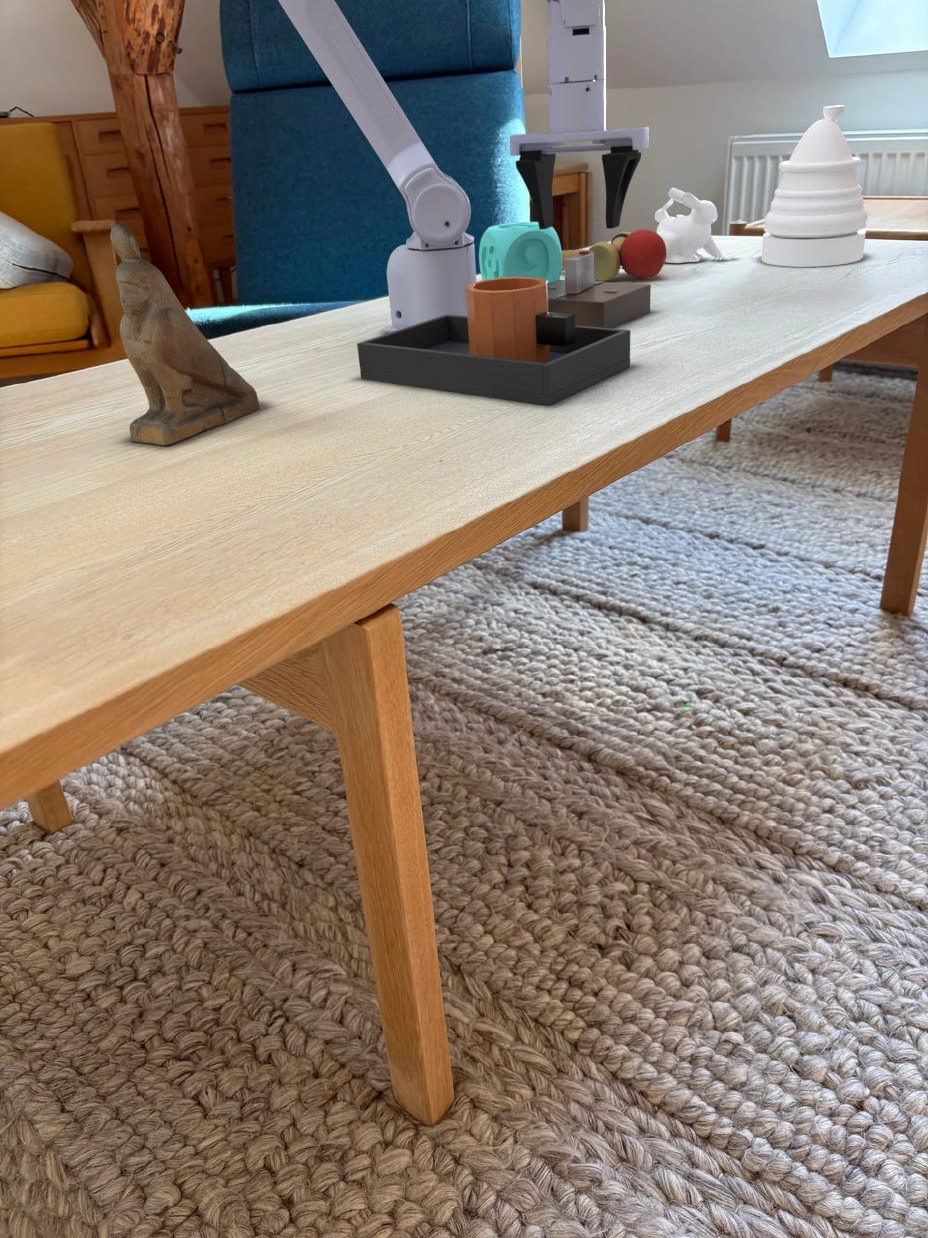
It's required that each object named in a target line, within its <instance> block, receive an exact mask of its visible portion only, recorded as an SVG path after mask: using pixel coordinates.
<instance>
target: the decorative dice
mask: <svg viewBox="0 0 928 1238" xmlns="http://www.w3.org/2000/svg"><path fill="white" fill-rule="evenodd" d="M562 251H563V250H562V246H561V241H560V238H559V235H558V233H557V232H556V230H555V228H554V227H553V226H552V227H550V228H547V229H539V224H538V221H521V222H509V223H501V224H496V225H491V226H489V227H488V228H487V229H486V230H485V231H484V233H483V234H482V235H481V239H480V242H479V248H478V263H479V264H478V265H479V271H480V277H481V280H487V279H494V278H502V277H537V278H541V279H544V280H547V283H550V282H553V281H556V280H561V278H562V277H561V276H562V273H563V271H562Z"/></svg>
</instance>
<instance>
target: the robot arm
mask: <svg viewBox="0 0 928 1238" xmlns="http://www.w3.org/2000/svg"><path fill="white" fill-rule="evenodd" d="M545 2H546V3H547V22H548V23H547V26H548V27H547V28H548V29H547V31H546V53H547V58H546V59H547V84H548V85H547V92H548V93H547V95H548V97H547V99H548V129H549V130H548V131H549V132H535V133H534V132H533V133H520V134H512V135H509V154H510V157H515V156H517V157H518V156H519V159H518V160H515V168H516V170H517V172H518V173H519V175H520V177H521V179H522V180H523V183H524V185H525V187H526V189H527V191H528V194H529V196H530V199H531V202H532V205H533V208H534V212H535V216H536V219H537V222H538V224H539V229H547V228H550V227H553V225H554V205H553V204H554V203H553V183H554V171H555V166H556V165H555V164H556V157H557V156H556V155H557V154H567V153H568V154H569V153H585V152H589V153H590V152H607V151H610V152H608V153H603V154H601V163H602V168H603V176H604V185H605V227H606V229H607V230H611V229H615V228H618V227H620V224H621V218H622V211H623V208H624V203H625V200H626V196H627V192H628V190H629V187H630V184H631V182H632V179H633V176H634V174H635V171H636V169H637V168H638V165H639V163H640V161H641V158H642V152H641V151H642V150H645V149H649V147H650V145H649V143H650V142H649V137H650V127H649V126H640V127H617V128H615V127H614V128H606V126H607V125H606V124H607V123H606V119H607V116H606V115H607V114H606V112H607V111H606V110H607V105H606V104H607V97H606V94H607V93H606V91H607V87H606V85H607V83H606V79H607V78H606V74H607V73H606V72H607V71H606V69H607V66H606V63H607V62H606V61H607V59H606V55H607V53H606V50H607V49H606V42H607V41H606V39H607V38H606V25H605V12H606V11H605V0H545ZM278 3H279V4H280V6H281V7H282V9H283V10H284V12H285V14H286V15H287V17H288V19H289V20H290V22H291V23H292V25H293V27H294V28H295V30H296V31H297V32H298V34H299V35H300V37H301V38H302V40H303V41H304V43H305V44H306V46H307V48H308V50H309V51H310V52H311V54H312V56H313V57H314V59H315V61H316V62H317V63H318V65H319V66H320V69H322V71H323V73H324V74H325V76H326V77H327V79H328V80H329V82H330V83H331V85H332V86H333V88H334V89H335V92H336V93H337V94H338V96H339V98H340V99H341V101H342V102H343V104H344V105H345V107H346V109H348V112H349V113H350V114H351V116H352V118H353V119H354V121H355V122H356V124H357V126H358V127H359V128H360V130H361V132H362V133H363V135H364V137H365V139H367V141H368V142H369V144H370V145H371V147H372V149H373V150H374V151H375V154H376V155H377V156H378V158H379V159H380V161H381V163H382V164H383V166H384V167H385V169H386V170H387V172H388V174H389V176H391V179H392V181H393V182H394V184H395V186H396V188H397V189H398V191H399V192H400V195H402V197H403V199H404V200H405V203H406V211H407V214H408V220H409V224H410V226H411V228H412V230H413V232H412V234H411V235H410V237H409V238H407V239H406V241H405V244H401V245H399V246H398V247H396V248H395V249H393V251H392V252H391V254H390V256H389V259H388V262H387V267H386V280H387V291H388V299H389V300H388V301H389V309H390V310H389V311H390V320H391V326H390V327H387V328H386V329H387V333H391V332H394V331H397V330H400V329H403V328H406V327H409V326H413V325H416V324H419V323H422V322H425V321H428V320H431V319H434V318H437V317H440V316H443V315H458V316H467V301H466V287H467V286H468V284H471V283H474V282H477V281H478V280H477V267H476V250H475V236H474V235H471V234H469V233H466V231H467V229H468V227H469V224H470V221H471V218H472V217H471V215H472V209H471V203H470V200H469V197H468V195H467V193H466V191H465V190H464V189H463V188H462V186H460V185H459V184H458V183H457V181H456V180H455V179H454V178H453V177H451V176H450V175H448V174H446V173H444V172H443V171H442V170H440V168H439V166H438V165H437V163H436V162H435V160H434V158H433V157H432V155H431V154H430V152H429V150H428V149H427V148H426V146H425V144H424V143H423V141H422V139H421V138H420V137H419V135H418V133H417V132H416V130H415V128H414V127H413V125H412V124H411V122H410V120H409V119H408V117H407V115H406V114H405V112H404V110H403V109H402V107H401V106H400V104H399V102H398V101H397V99H396V98H395V96H394V94H393V93H392V91H391V89H390V87H388V85H387V83H386V82H385V80H384V78H383V77H382V75H381V73H380V72H379V70H378V68H377V67H376V66H375V64H374V62H373V60H372V59H371V57H370V56H369V54H368V52H367V51H366V49H365V47H364V46H363V45H362V42H361V41H360V40H359V38H358V36H357V35H356V33H355V31H354V30H353V28H352V27H351V25H350V23H349V22H348V20H347V18H346V17H345V15H344V14H343V11H341V9H340V7H339V6H338V4H337V3H336V1H335V0H278ZM591 141H592V145H580V146H564V143H577V142H579V143H580V142H591ZM559 146H561V147H559ZM640 150H641V151H640Z"/></svg>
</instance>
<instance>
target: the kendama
mask: <svg viewBox="0 0 928 1238" xmlns="http://www.w3.org/2000/svg"><path fill="white" fill-rule="evenodd" d="M656 232H657V231H656ZM656 232H655V230H651V229H642V228H641V229H637V230H635V231H632V232H630V231H621V232H619V233H617V234H615V235H614V237H613V238H612V239H611V241H610V243H609V242H607V241H598V242H597V243H595V244H593V245H591V246H590V247H589V249H588V250H592V252H594V280H596V281H597V282H599V281H603V282H609V281H610V280H612V279H614V278H615V277H616V276H618V274H619V272H620V270H623V271H624V272H625V273H626V274H627V275H628V276H629V277H631V278H633V279H638V280H646V279H652V278H654V277H656V276H657V275H658V274H659V273H660V272H661V271H662V269H663V267H664V266H665V263H666V262H665V260H666V254H667V252H666V245H665V242H664V240H663V239H662V238H661V236H660V235H659V234H657V233H656ZM582 250H583V249H568V250H567V249H566V250H561V251H562V272H565V261H564V260H566V259H568V258H570V257H573V256H575V255H577V254H579V252H580V251H582Z"/></svg>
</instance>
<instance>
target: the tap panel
mask: <svg viewBox="0 0 928 1238" xmlns="http://www.w3.org/2000/svg"><path fill="white" fill-rule="evenodd" d="M547 286H548V312H551V313H563V314H575V325H576V326H588V327H600V328H612V329H614V328H615V327H619V326H621V325H623V324H625V323H628V322H631V321H632V320H635V319H637V318H640V317H642V316H645V315H647V314H649V313H651V293H652V292H651V291H652V290H651V289H652V285H651V284H650V283H632V282H631V283H630V282H614V281H613V282H611V281H595V280H594V286H592V287H590V288H588V289H586V290H584V291H582V292H580V293H578V294H565V279H560V280H556V281H553V282H550V283H547Z"/></svg>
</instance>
